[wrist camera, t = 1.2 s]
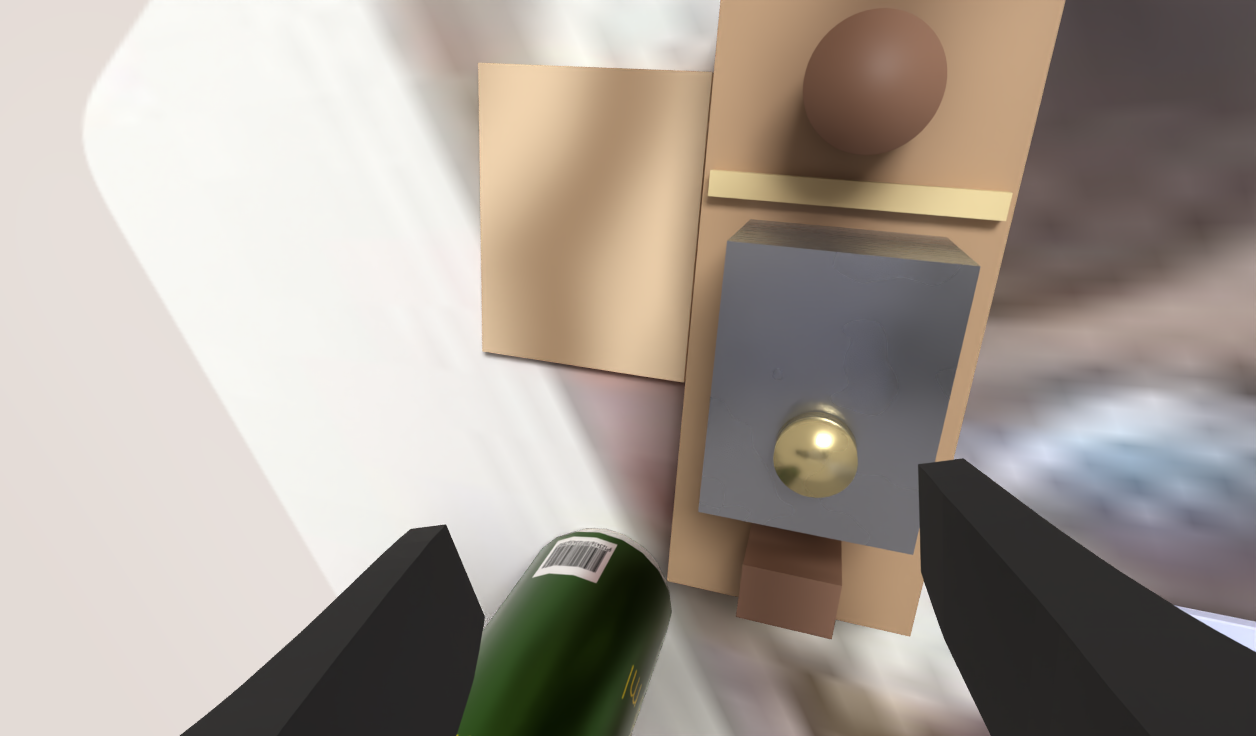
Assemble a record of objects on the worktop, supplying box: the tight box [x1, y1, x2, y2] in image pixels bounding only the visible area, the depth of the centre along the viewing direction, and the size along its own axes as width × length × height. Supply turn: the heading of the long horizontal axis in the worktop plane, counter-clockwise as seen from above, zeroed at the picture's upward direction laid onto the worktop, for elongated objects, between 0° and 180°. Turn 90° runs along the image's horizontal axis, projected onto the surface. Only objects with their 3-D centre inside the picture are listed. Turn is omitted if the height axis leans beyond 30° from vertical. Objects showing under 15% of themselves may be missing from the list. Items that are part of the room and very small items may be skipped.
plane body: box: [667, 0, 1065, 639], centre depth 17 cm, size 7×16×5 cm, turn 177°
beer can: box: [457, 528, 672, 736], centre depth 20 cm, size 5×5×12 cm
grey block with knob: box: [698, 219, 981, 555], centre depth 15 cm, size 4×6×5 cm
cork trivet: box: [478, 63, 714, 382], centre depth 21 cm, size 7×9×1 cm
